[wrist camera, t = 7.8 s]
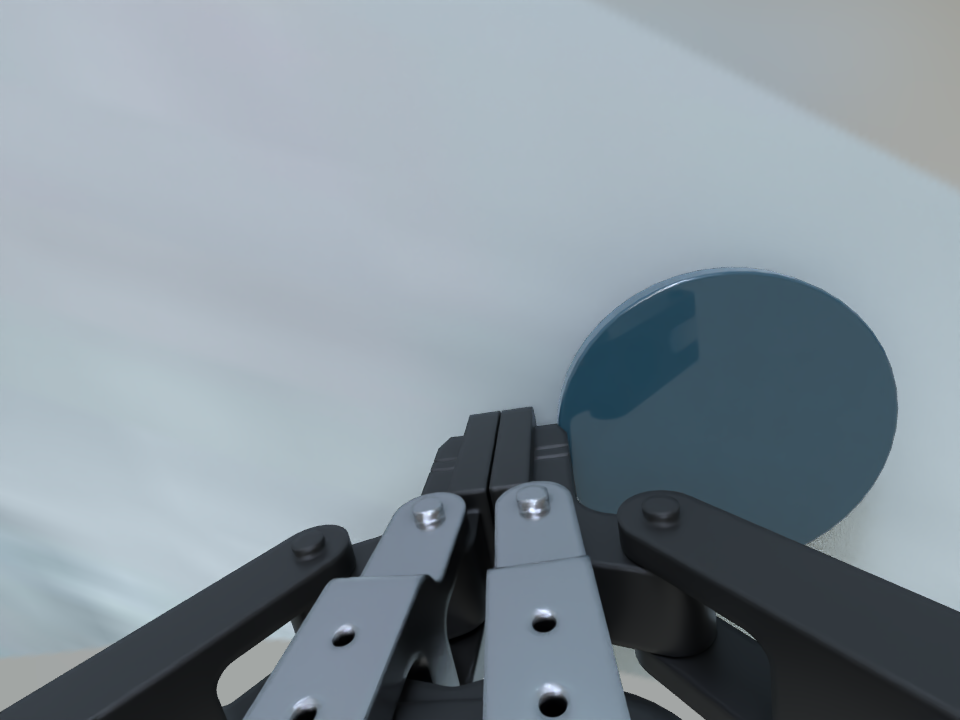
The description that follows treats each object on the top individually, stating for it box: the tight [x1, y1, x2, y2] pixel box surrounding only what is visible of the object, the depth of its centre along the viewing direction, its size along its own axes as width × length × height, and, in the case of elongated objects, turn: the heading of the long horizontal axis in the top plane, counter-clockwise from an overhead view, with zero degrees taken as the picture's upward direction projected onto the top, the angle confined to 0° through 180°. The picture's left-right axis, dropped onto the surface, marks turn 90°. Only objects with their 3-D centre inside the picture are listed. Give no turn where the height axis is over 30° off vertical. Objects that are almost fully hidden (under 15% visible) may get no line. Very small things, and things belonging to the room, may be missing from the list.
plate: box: [557, 267, 898, 545], centre depth 12 cm, size 7×7×1 cm
